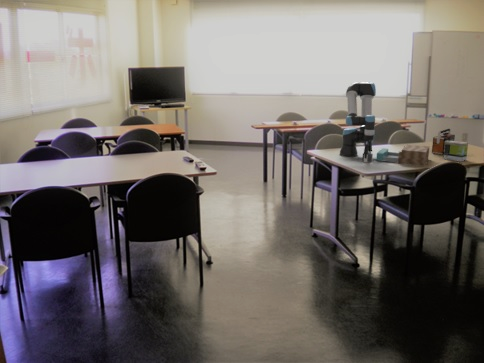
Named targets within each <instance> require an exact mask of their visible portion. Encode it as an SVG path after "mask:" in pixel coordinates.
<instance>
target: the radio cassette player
mask: <svg viewBox="0 0 484 363" xmlns="http://www.w3.org/2000/svg"><path fill="white" fill-rule="evenodd" d="M451 132H452V131H451V128H447V129H444V130H440V131H438V132H437V135H436V136H433V137H432V146H431V154H434V155H435V154H437V155H441V154H442V155H444V152H445V143H446V142H448V141H455V138H456V134H451Z"/></svg>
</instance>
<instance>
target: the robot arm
mask: <svg viewBox="0 0 484 363" xmlns="http://www.w3.org/2000/svg"><path fill="white" fill-rule="evenodd" d="M345 91H346V92H345V97H346V98H347V101H346V102H347V115H346V117H345V125H346V126H359V128H357V127H347V128H344V129H343V131H342V141H341V143H342V145H341V147H340V150H339V155H340V156H342V155H343V157H356V156H358V154H359V152H358V149H357V144H364V148H363V149H364V150H363V153H362V155H363V154H364V161H363V163H368V162H367V159H368V153H370V154H372V152H373V142H374V140H375V136H376V130H375V124H376V116H375V115H373V114H372V111H373V110H372V109H373V108H372V106H373V99H374V98H375V97H376V94H377V93H376V84H375V83H374V82H370V81H368V82H366V81H364V82H361V81H360V82H357V81H356V82H353V83H351V84H350V85H349V86H348V87H347V89H346V90H345ZM358 97H359V98H360V100H361V110H360V111H361V113H360V114H361V115H360V116H359V115H358V107H357V106H358V104H357V103H358V102H357V101H358V100H357V98H358Z"/></svg>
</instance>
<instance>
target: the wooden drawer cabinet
mask: <svg viewBox="0 0 484 363" xmlns="http://www.w3.org/2000/svg"><path fill="white" fill-rule="evenodd" d="M398 153H399V157H398V162H397V164H401V165H402V164H403V165H411V166H419V167H420V166H421V167H422V166H423V167H424V166H425V165H426V164H427V163H428V161H429V155H430V146H428V145H417V144H415V145H414V144H406V145H405V146H403V148H402V150H401V151H398Z"/></svg>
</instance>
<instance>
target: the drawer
mask: <svg viewBox="0 0 484 363" xmlns="http://www.w3.org/2000/svg"><path fill="white" fill-rule="evenodd" d="M398 157H399V152H391V151H389V148H384V147H382V148H381V149H380V150H379V151H378V152H377V153H376V158H375V159H376V160H375V161H379V162H392V163H398Z"/></svg>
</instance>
